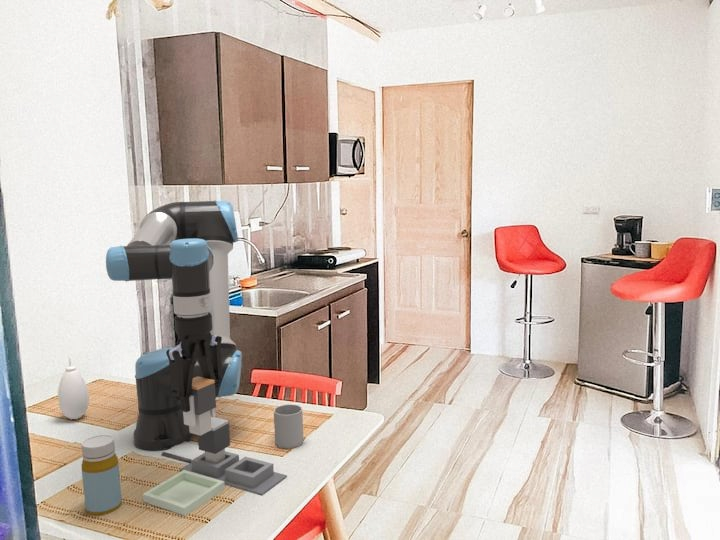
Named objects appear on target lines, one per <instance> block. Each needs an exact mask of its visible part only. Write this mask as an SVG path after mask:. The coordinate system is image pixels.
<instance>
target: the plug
mask: <svg viewBox="0 0 720 540" xmlns="http://www.w3.org/2000/svg"><path fill="white" fill-rule="evenodd" d="M184 391H185V390H184ZM191 395H192V396H194V408H195V420H196V426H194V427H192V426H189V430H190V433H193V434H194V435H197V436H198V435H200V436H201V435H203V434H205V433H207V432H209V431H211V415H210V410H212V409H214V408H215V409H216V408H217V402H216V401H217V400H216V398H217V397H216V396H215V380H212V379H208V378H203V377H198V376H197V377H195V378H193V380H192V388H191Z"/></svg>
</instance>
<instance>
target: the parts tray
mask: <svg viewBox="0 0 720 540" xmlns="http://www.w3.org/2000/svg"><path fill="white" fill-rule="evenodd" d="M224 490H226V485H225V482H224V481H221V480H217V479H214V478H211V477H207V476H204V475H200V474H197V473H193V472H190V471H187V470H183V471H179V472H178V473H176V474H174V475H173V476H171V477H169V478H167V479H165V480H164V481H162V482H160V483H159V484H157V485H156V486H153V487H152V488H150V489H149V490H146V491H145V492H143V493H142V502H143V503H146V504H148V505H151V506H155V507H158V508H160V509H163V510H166V511H169V512H172V513H175V514H179V515H181V516H184V517H186V516H188V515H189V514H190V513H192V512H193V511H195V510H196V509H198V508H199V507H201V506H202V505H203V504H205V503H207V502H209V500H212V498H214V497H215V496H217V495H218V494H220V493H221V492H223V491H224Z"/></svg>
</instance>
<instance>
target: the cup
mask: <svg viewBox="0 0 720 540" xmlns="http://www.w3.org/2000/svg"><path fill="white" fill-rule="evenodd" d="M303 415H304V414H303V407H302V406H300V405H298V404H282V405H279V406H276V407H274V408H273V423H274V424H273V427H274V442H275V445H276V446H277V447H279V448H281V449H287V450H288V449H294V448H298V447H300V446H301V445H303V443H304V419H303Z"/></svg>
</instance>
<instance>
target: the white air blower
mask: <svg viewBox="0 0 720 540" xmlns="http://www.w3.org/2000/svg"><path fill="white" fill-rule="evenodd" d="M68 364H69V366H66V367H65V371H64V372H63V374H62V376H61V378H60V382H59V385H58V391H57V402H58V406H59V407H58V408H59V410H60V411H61V413H62V414H63V416H64V417H66V418H68V419H69V420H72V419H77V420H79V419H80V418H82V417H83V416H84V414H86V412H87V409H89V407H88V406H89V402H90V394H89V393H90V392H89V388H88V385H87V383H86V380H85V378H84V377H83V375H82V374H81V373H80V371H79V370H78V369H77V367H76V366H75V365H72V361H71V358H68ZM78 418H79V419H78Z"/></svg>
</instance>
